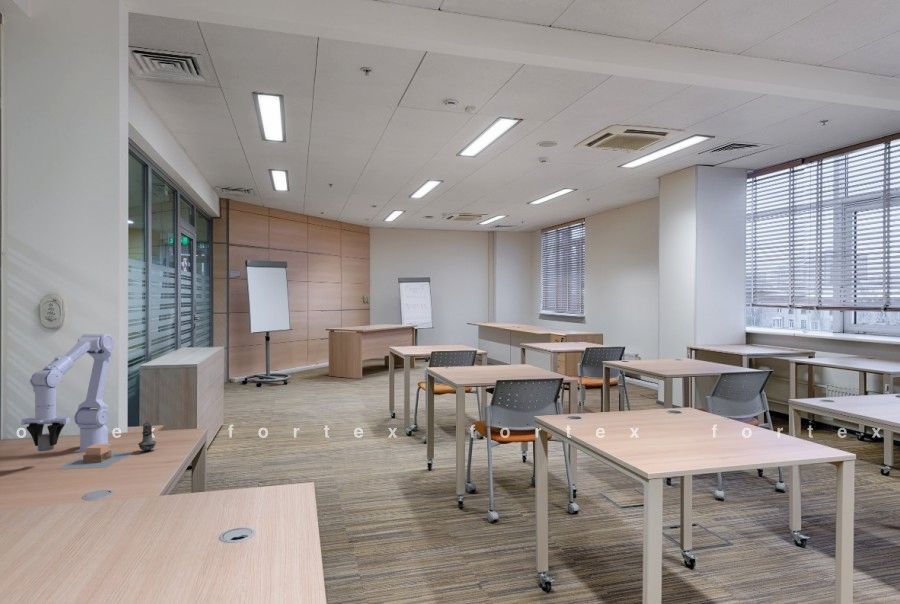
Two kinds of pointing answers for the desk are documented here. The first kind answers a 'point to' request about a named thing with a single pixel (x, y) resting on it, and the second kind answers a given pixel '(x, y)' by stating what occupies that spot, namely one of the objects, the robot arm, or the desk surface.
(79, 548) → the desk surface
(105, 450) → the tower middle
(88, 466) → the mat
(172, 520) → the desk surface
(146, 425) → the salt shaker
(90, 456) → the tower base
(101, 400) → the robot arm
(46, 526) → the desk surface
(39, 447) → the dark grey cylinder
